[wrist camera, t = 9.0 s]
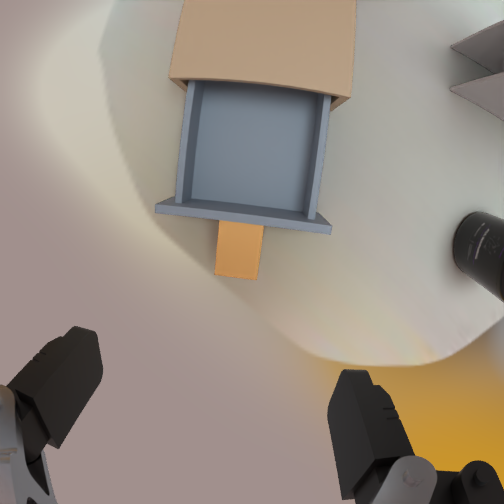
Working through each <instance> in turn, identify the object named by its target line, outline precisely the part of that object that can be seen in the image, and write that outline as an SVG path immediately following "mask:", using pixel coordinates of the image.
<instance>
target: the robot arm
mask: <svg viewBox="0 0 504 504" xmlns="http://www.w3.org/2000/svg"><path fill="white" fill-rule="evenodd" d="M102 375H103V365H102V360H101V354H100V349H99V343H98V337H97V334H96V332H95V331H92V330H88V329H85V328H81V327H78V326H74V327H72V328H71V329H70V330H69V331H68V332H67V333H66V334H65V335H64V336H63V337H61V336H60V337H58V338H56V339H54V340H52V341H50V342H48V343H47V344H46V345H45V346H44V347H43V348H42V349H41V350H40V352H39V353H37V354H36V355H35V356H34V357H33V360H30V361H29V363H27V365H26V366H25V367H24V368H23V369H22V370H21V371H20V372H19V373H18V374H17V375H16V376H15V377H14V379H12V381H11V382H10V383H9V384H8V385H7V386H4V385H0V504H58V503H57V501H56V499H55V495H54V491H53V488H52V484H51V479H50V475H49V471H48V466H47V462H46V457H45V452H44V450H43V448H44V447H45V445H46V444H49V445H51V446H53V447H55V448H57V449H59V448H60V446H61V444H62V443H63V441H64V439H65V438H66V436H67V435H68V433H69V431H70V430H71V428H72V426H73V425H74V423H75V421H76V420H77V418H78V417H79V415H80V413H81V412H82V410H83V409H84V407H85V406H86V404H87V402H88V401H89V399H90V398H91V396H92V395H93V393H94V391H95V390H96V388H97V387H98V385H99V384H100V382H101V379H102ZM327 417H328V424H329V429H330V434H331V440H332V445H333V450H334V456H335V461H336V467H337V472H338V478H339V484H340V490H341V496H342V500H348V499H355V503H356V504H504V489H503V487H502V485H501V482H500V480H499V478H498V475H497V473H496V471H495V470H494V468H493V467H492V466H491V465H489V464H488V463H486V462H484V461H472V462H470V463H468V464H467V465H466V466H465V467H464V468H463V469H462V470H461V471H460V472H452V471H437V470H435V468H434V466H433V465H432V464H431V463H430V462H429V461H427V460H426V459H424V458H422V457H419V456H415V454H414V452H413V449H412V447H411V444H410V442H409V439H408V437H407V434H406V432H405V430H404V427H403V425H402V423H401V420H400V419H399V415H398V413H397V411H396V410H395V406H394V404H393V402H392V399H391V397H390V395H389V394H388V393H387V392H386V391H385V390H384V389H383V388H382V387H381V386H380V385H373V383H372V380H371V378H370V376H369V373H368V371H366V370H349V369H348V370H347V369H344V370H343V371H342V372H341V374H340V376H339V379H338V382H337V384H336V387H335V390H334V392H333V395H332V397H331V400H330V402H329V406H328V414H327Z"/></svg>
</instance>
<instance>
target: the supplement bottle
mask: <svg viewBox="0 0 504 504" xmlns="http://www.w3.org/2000/svg"><path fill="white" fill-rule="evenodd" d="M454 257H455V261H456V263H457V265H458V267H459V268H460V269H461V270H462V271H463V272H464V273H465V274H467V275H468V276H469V277H471V278H472V279H473V280H475V281H476V282H478V283H479V284H480V285H482V286H483V287H484V288H486V289H487V290H488V291H489V292H491V293H492V294H493V295H495V296H496V297H497V298H499V299H500V300H501V301H502V302H504V219H501V218H498V217H496V216H493V215H490V214H487V213H484V212H477V213H474V214H472V215H470V216H469V217H467V218H466V219H465V220H464V221H463V223H462V224H461V225H460V227H459V229H458V231H457V234H456V237H455V241H454Z"/></svg>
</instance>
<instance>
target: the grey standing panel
mask: <svg viewBox="0 0 504 504" xmlns="http://www.w3.org/2000/svg"><path fill="white" fill-rule="evenodd" d="M451 48H452V49H454V50H456V51H458V52H460V53H461V54H463V55H465V56H467V57H468V58H470V59H472V60H474V61H475V62H477V63H479V64H480V65H482V66H483V67H485V68H487V69H488V70H490V71H491V72H493V73H494V74H495V75H491V76H487V77H484V78H480V79H477V80H473V81H470V82H466V83H463V84H460V85H456V86H453V87H450V91H452V92H454V93H456V94H458V95H460V96H462V97H464V98H465V99H467V100H469V101H471V102H473V103H475V104H476V105H478V106H480V107H482V108H483V109H485V110H487V111H488V112H490V113H492V114H493V115H495V116H497V117H498V118H500V119H501V120H503V121H504V20H503V21H500V22H498V23H496V24H494V25H492V26H489V27H487V28H485V29H483V30H481V31H479V32H477V33H475V34H473V35H471V36H469V37H467V38H465V39H463V40H461V41H459V42H457V43H455V44H453V45H451Z"/></svg>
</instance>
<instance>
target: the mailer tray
mask: <svg viewBox="0 0 504 504" xmlns="http://www.w3.org/2000/svg"><path fill="white" fill-rule="evenodd" d="M330 103H331V95H327V94H322V93H317V92H311V91H305V90H299V89H293V88H286V87H279V86H271V85H263V84H253V83H242V82H229V81H212V80H189V82H188V89H187V96H186V103H185V110H184V117H183V125H182V133H181V142H180V151H179V161H178V171H177V182H176V194H175V196H174V197H171V198H169V199H167V200H164V201H162V202H160V203H157V204H155V213H160V214H170V215H179V216H188V217H197V218H206V219H214V220H219V230H218V241H217V252H216V264H215V275H220V276H228V277H235V278H243V279H251V280H257V275H258V267H259V260H260V253H261V245H262V238H263V230H264V226H270V227H278V228H286V229H293V230H300V231H308V232H315V233H322V234H329V235H331V230H332V225H331V224H330V223H329V222H328V221H327V220H326V219H325V218H324V217H323V216H322V215H320V214H319V213H318V212H316V208H317V202H318V195H319V188H320V182H321V175H322V168H323V161H324V153H325V146H326V138H327V130H328V121H329V112H330Z"/></svg>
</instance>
